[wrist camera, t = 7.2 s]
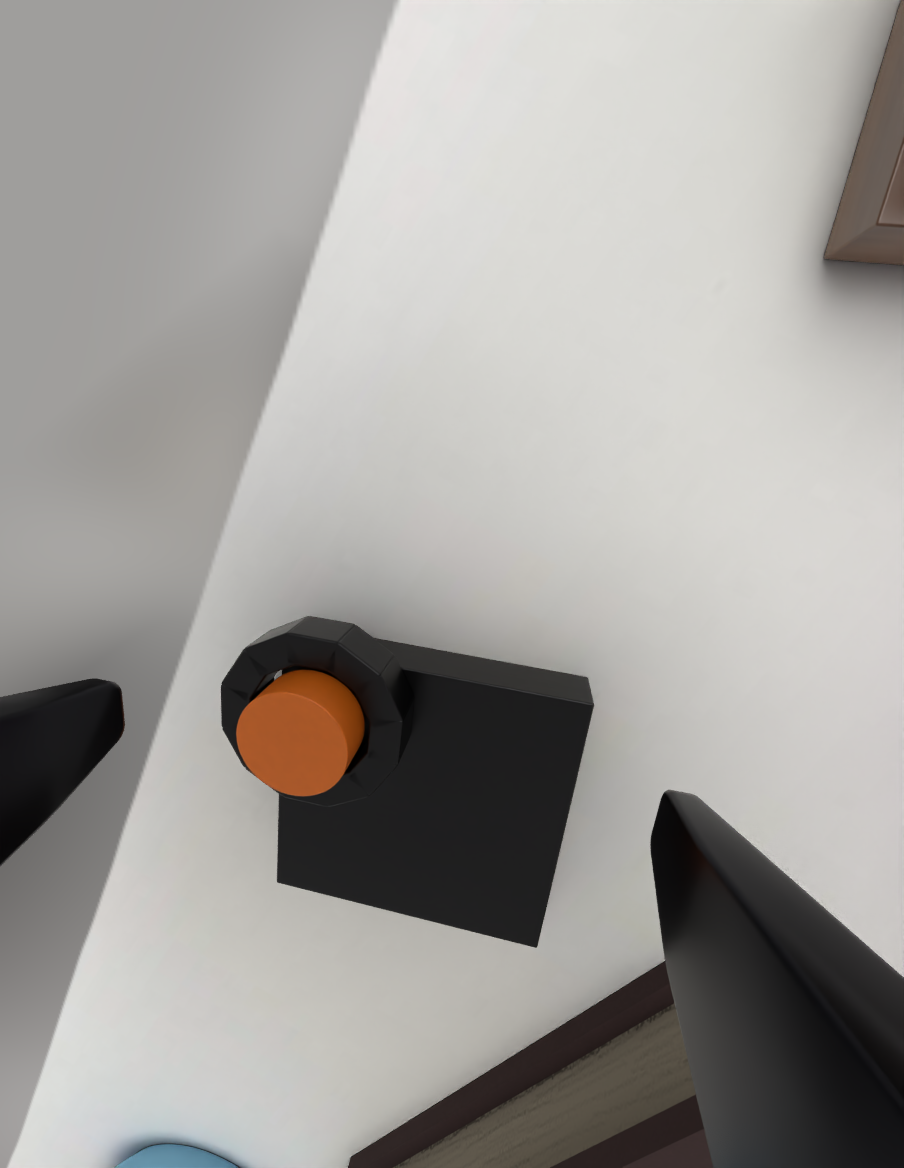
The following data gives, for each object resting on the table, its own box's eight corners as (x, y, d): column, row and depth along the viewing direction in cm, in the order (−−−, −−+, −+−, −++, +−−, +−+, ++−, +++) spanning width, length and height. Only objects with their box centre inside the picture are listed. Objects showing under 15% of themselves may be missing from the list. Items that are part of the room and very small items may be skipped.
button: (262, 753, 19) (235, 783, 17) (263, 660, 18) (235, 682, 16) (361, 775, 19) (344, 807, 17) (369, 680, 17) (351, 705, 16)
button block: (271, 839, 25) (223, 910, 21) (275, 587, 21) (218, 620, 17) (537, 903, 23) (537, 993, 20) (596, 643, 19) (610, 692, 16)
